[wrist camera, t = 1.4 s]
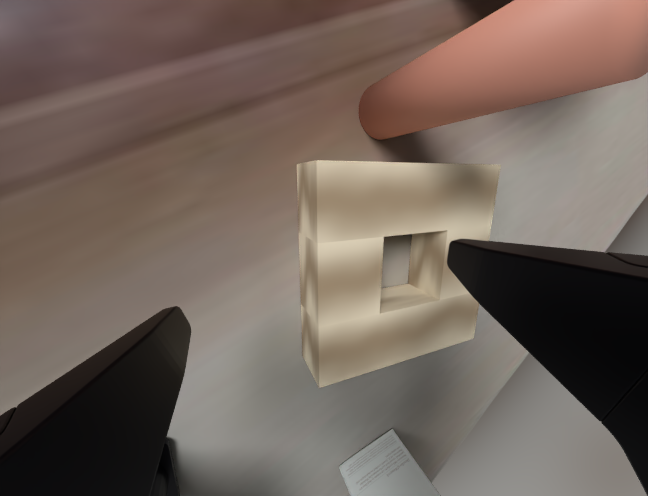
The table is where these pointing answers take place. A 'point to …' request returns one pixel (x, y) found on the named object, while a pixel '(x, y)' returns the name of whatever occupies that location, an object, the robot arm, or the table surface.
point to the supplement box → (385, 470)
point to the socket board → (367, 255)
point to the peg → (512, 64)
